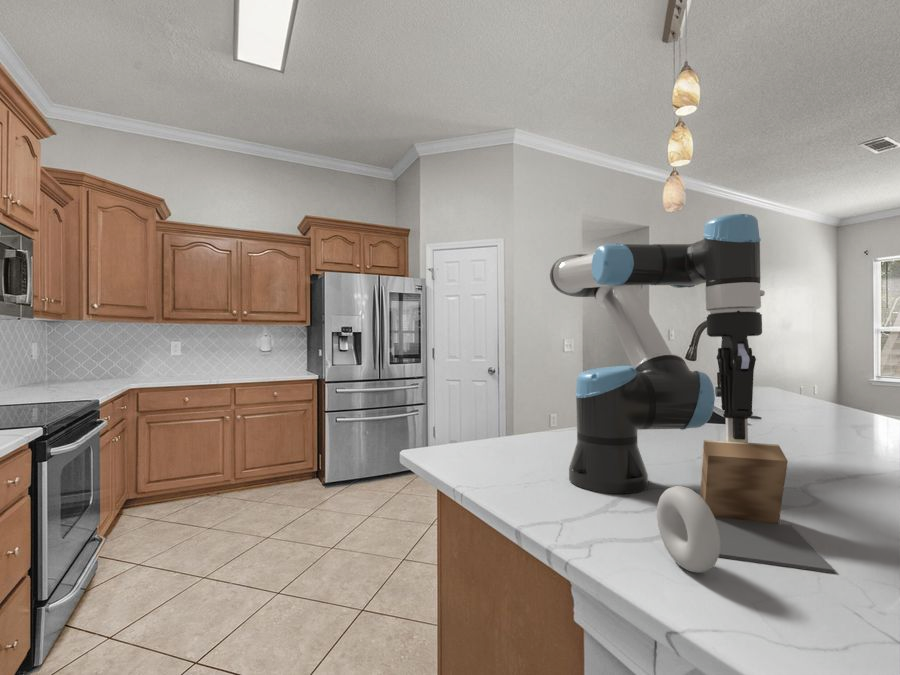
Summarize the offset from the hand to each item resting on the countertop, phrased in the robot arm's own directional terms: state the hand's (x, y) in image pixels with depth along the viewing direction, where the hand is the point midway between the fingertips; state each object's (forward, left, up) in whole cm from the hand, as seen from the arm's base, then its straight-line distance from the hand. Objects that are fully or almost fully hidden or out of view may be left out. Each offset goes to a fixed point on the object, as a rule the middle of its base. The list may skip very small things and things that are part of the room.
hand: (737, 458), depth 70 cm
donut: (-10, -20, -10) cm, 25 cm away
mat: (0, -9, -10) cm, 13 cm away
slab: (0, 0, -9) cm, 9 cm away
